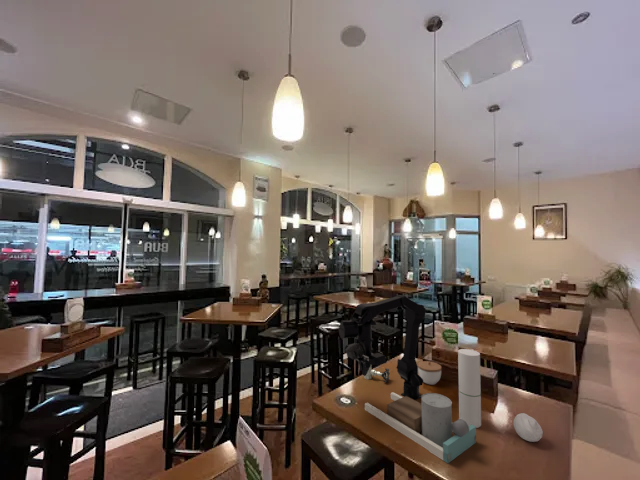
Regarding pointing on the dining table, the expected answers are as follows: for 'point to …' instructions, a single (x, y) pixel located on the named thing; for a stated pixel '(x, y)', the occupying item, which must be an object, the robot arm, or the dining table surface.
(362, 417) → the dining table surface
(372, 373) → the valve
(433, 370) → the lidded jar
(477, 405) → the cylindrical container
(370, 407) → the bay
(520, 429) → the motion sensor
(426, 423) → the grey concrete cylinder
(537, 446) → the dining table surface
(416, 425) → the carriage
